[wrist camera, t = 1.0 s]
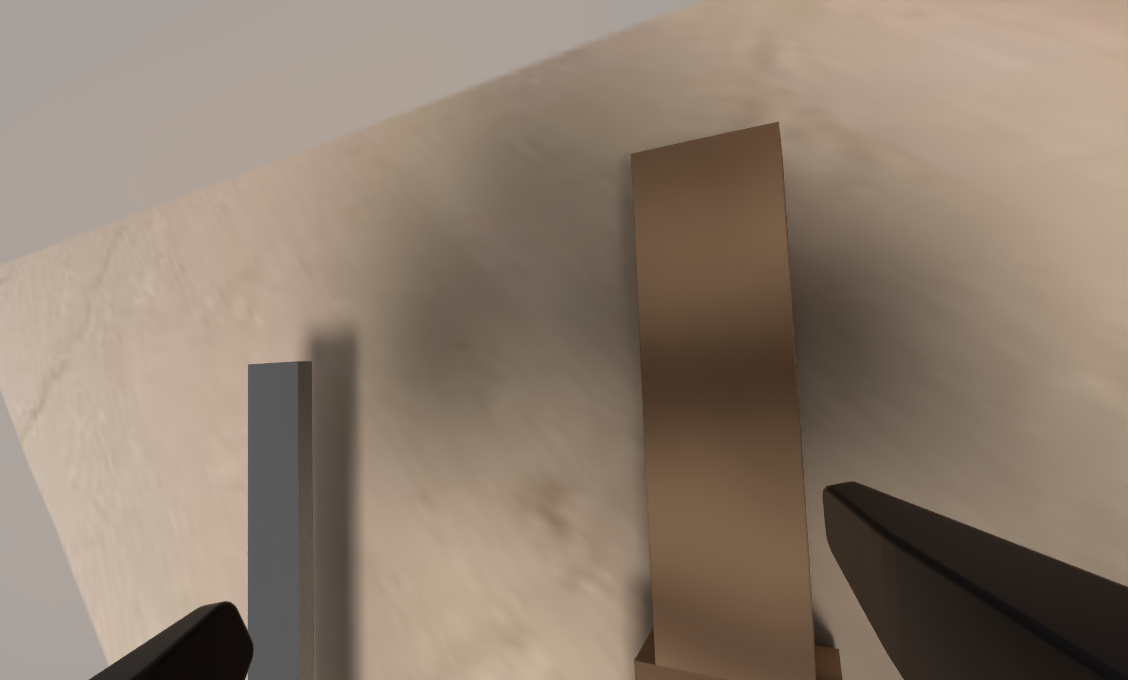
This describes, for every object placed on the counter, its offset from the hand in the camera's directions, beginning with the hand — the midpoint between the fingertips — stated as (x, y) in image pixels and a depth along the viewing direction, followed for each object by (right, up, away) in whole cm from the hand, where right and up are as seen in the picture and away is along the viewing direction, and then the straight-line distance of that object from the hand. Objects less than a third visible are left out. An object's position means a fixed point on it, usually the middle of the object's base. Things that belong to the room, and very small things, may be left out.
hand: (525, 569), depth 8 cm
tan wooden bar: (+6, -1, +8) cm, 10 cm away
